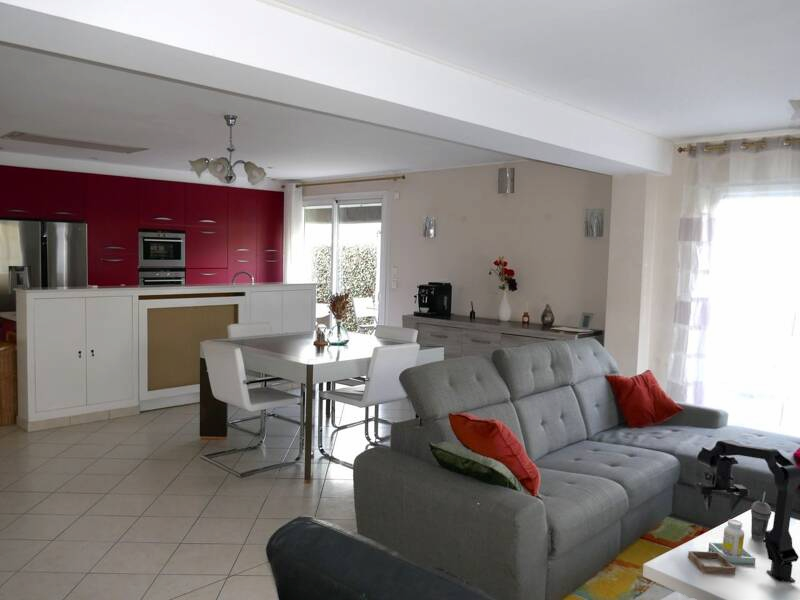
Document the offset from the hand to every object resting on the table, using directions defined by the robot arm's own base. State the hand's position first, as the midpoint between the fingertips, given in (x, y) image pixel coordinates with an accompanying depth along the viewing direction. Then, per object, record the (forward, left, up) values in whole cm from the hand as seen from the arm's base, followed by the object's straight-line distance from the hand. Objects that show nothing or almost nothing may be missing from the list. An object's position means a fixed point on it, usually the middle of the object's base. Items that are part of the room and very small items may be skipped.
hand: (719, 510), depth 249 cm
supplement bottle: (-11, 0, -13) cm, 17 cm away
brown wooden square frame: (-19, +12, -13) cm, 26 cm away
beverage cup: (+5, -20, -13) cm, 24 cm away
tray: (-11, 0, -13) cm, 17 cm away
